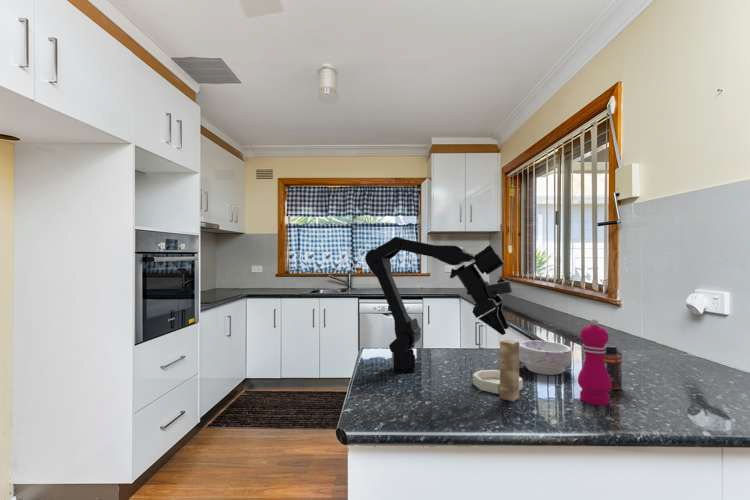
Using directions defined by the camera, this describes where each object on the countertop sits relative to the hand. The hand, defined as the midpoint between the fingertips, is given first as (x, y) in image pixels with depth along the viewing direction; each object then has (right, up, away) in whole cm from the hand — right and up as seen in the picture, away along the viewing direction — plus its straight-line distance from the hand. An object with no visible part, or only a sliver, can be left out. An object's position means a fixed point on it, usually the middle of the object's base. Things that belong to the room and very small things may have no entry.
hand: (505, 331), depth 105 cm
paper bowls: (+16, -15, +12) cm, 26 cm away
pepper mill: (+17, -15, -13) cm, 26 cm away
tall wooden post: (-3, -14, -11) cm, 18 cm away
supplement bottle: (+27, -15, -2) cm, 31 cm away
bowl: (-3, -14, -2) cm, 15 cm away
